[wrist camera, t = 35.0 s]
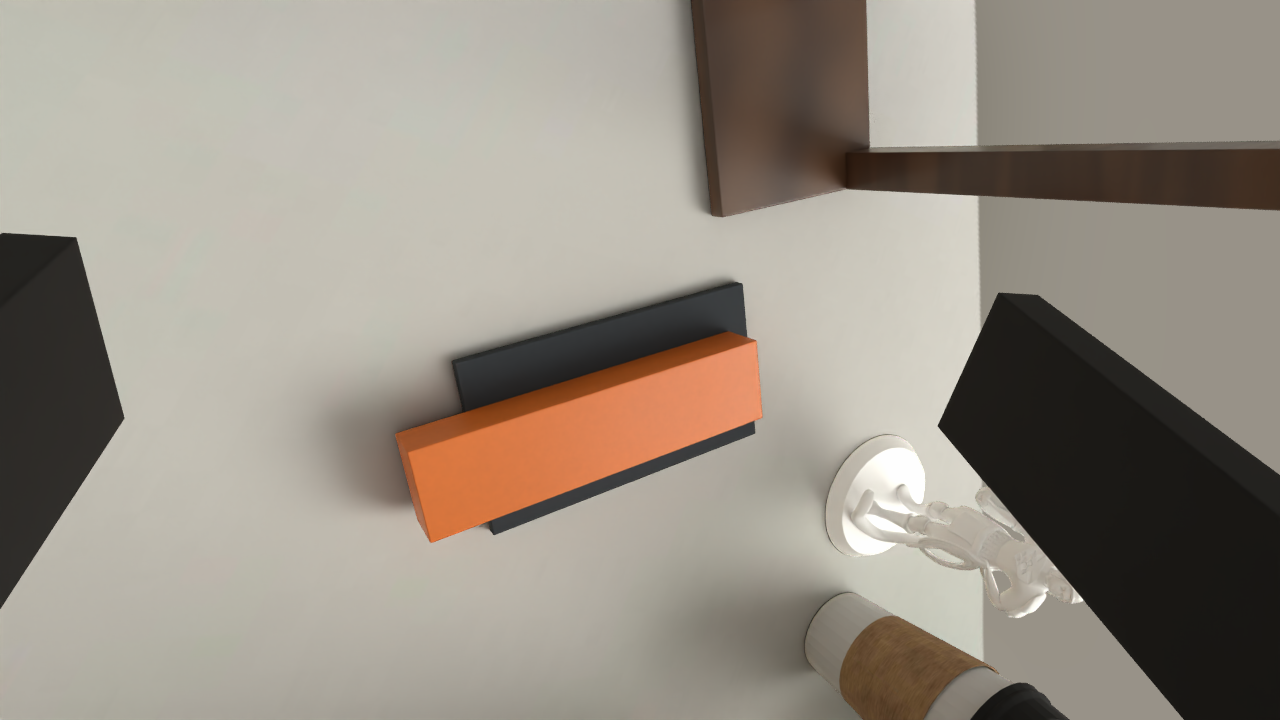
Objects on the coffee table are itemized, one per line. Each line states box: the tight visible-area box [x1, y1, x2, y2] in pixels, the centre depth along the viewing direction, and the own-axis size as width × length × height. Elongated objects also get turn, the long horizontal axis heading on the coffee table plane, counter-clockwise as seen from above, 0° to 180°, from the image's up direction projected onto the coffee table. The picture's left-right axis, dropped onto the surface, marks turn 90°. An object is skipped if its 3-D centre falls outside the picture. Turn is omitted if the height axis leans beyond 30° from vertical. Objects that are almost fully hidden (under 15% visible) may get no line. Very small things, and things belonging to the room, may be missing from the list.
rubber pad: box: [452, 282, 755, 535], centre depth 38 cm, size 16×9×1 cm, turn 99°
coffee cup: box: [805, 593, 1069, 720], centre depth 45 cm, size 8×8×15 cm
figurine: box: [826, 435, 1084, 618], centre depth 44 cm, size 9×9×15 cm
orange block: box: [395, 331, 762, 543], centre depth 36 cm, size 18×4×2 cm, turn 98°
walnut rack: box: [691, 0, 1280, 217], centre depth 25 cm, size 11×12×32 cm
